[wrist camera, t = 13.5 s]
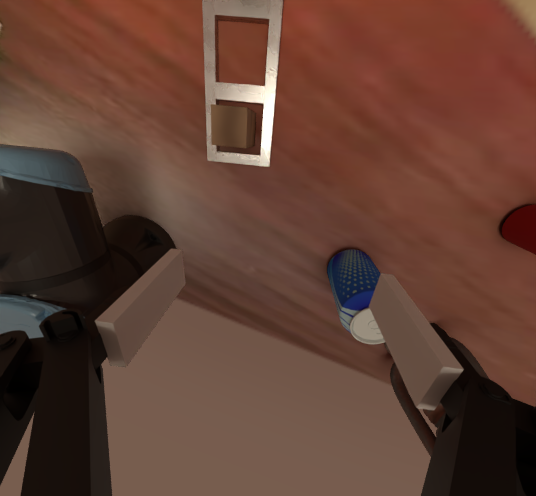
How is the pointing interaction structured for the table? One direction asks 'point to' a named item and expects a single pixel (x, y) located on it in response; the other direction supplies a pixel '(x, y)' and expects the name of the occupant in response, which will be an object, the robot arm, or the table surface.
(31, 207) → the robot arm
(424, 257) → the table surface
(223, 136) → the walnut peg
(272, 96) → the white yellow rectangular frame
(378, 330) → the beer can
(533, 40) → the table surface
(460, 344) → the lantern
